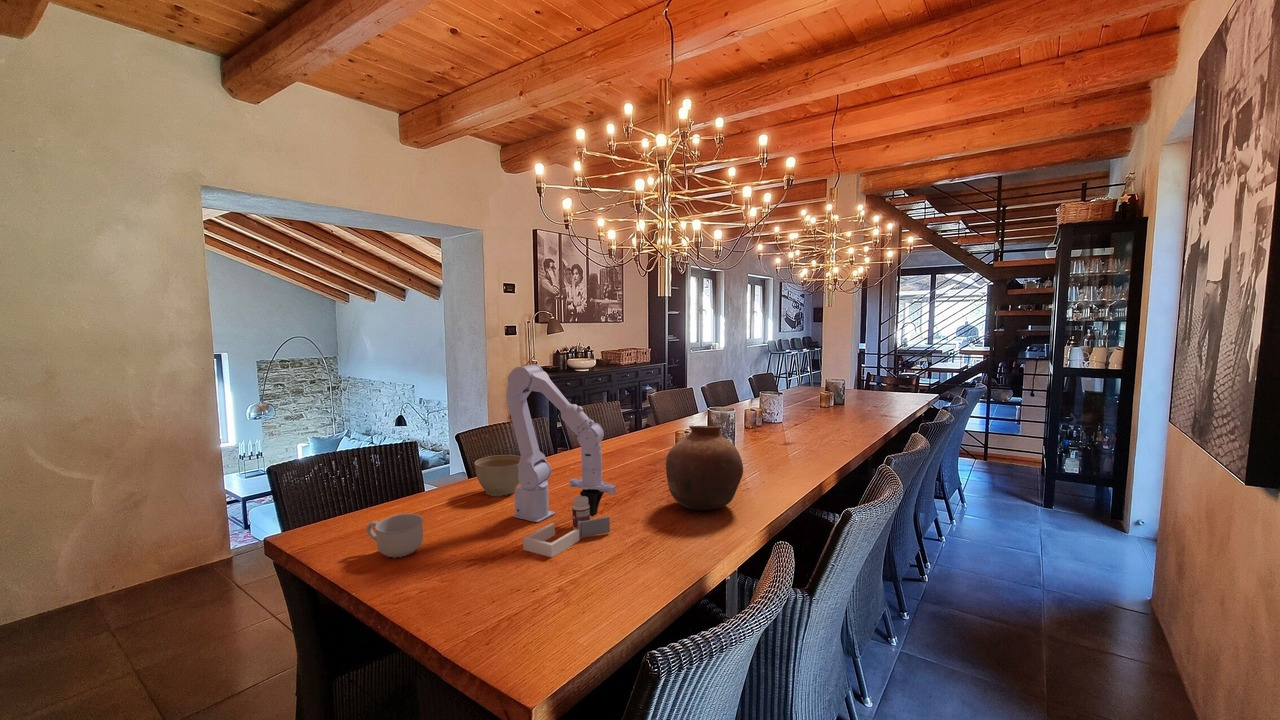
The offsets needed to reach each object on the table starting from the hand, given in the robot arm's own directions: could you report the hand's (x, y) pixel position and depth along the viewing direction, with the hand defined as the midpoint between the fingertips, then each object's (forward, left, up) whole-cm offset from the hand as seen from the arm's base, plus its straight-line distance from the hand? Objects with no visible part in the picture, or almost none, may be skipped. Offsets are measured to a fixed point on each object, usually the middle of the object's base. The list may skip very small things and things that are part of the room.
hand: (592, 514), depth 149 cm
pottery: (+23, +26, -2) cm, 34 cm away
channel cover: (+6, -8, -2) cm, 11 cm away
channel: (0, -17, -2) cm, 18 cm away
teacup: (-32, -39, -2) cm, 51 cm away
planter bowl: (-42, +7, -2) cm, 43 cm away
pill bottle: (0, -5, -2) cm, 6 cm away
